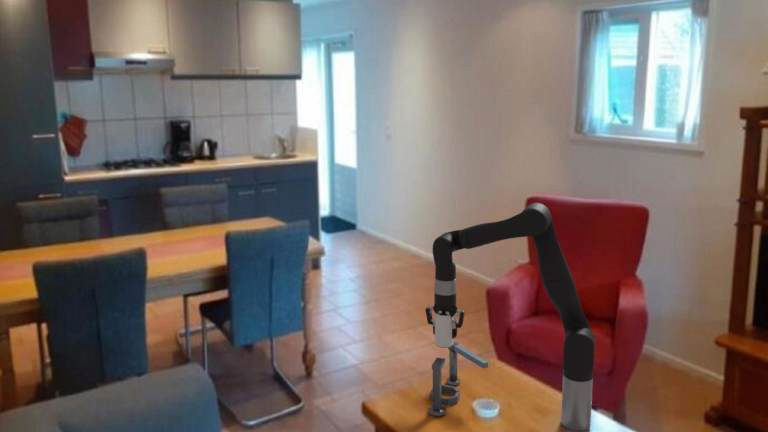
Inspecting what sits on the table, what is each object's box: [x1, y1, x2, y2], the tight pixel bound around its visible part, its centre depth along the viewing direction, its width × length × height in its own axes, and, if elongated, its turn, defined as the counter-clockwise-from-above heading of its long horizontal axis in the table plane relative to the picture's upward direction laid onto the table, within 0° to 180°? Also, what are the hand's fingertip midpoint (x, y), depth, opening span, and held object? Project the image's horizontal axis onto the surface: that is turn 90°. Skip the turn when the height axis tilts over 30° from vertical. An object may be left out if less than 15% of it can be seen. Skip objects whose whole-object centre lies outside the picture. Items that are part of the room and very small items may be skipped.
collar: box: [429, 384, 461, 407], centre depth 223 cm, size 10×10×2 cm
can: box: [434, 313, 455, 349], centre depth 217 cm, size 6×6×12 cm
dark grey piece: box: [427, 357, 447, 418], centre depth 213 cm, size 6×8×18 cm
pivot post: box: [446, 349, 461, 387], centre depth 233 cm, size 5×5×14 cm
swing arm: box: [447, 340, 489, 370], centre depth 224 cm, size 21×4×2 cm, turn 30°
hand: (445, 336), depth 218 cm, fingers closed on can, 5 cm apart
